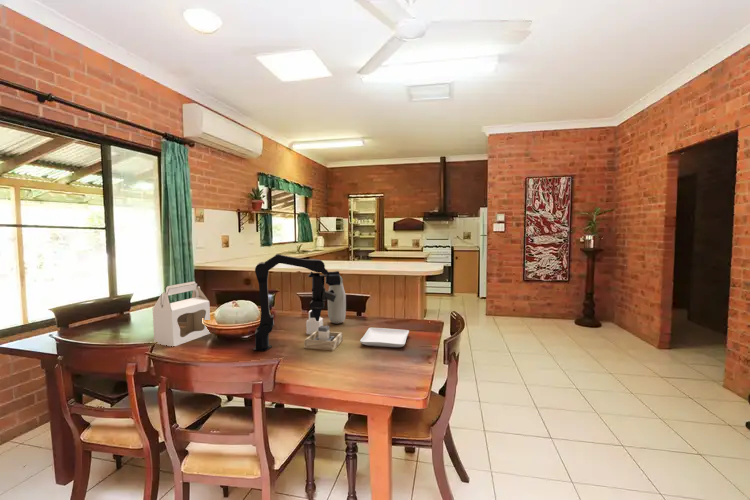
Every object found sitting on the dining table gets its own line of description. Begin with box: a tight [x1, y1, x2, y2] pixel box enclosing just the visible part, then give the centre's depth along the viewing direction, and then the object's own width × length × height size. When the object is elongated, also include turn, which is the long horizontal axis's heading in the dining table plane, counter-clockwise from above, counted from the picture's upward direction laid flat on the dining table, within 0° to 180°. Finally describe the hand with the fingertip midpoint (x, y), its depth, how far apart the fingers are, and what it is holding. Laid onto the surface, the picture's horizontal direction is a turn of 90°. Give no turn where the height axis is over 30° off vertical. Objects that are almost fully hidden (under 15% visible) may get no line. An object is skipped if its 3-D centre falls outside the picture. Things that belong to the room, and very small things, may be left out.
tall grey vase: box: [326, 275, 347, 325], centre depth 200 cm, size 10×10×28 cm
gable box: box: [152, 280, 211, 347], centre depth 175 cm, size 22×13×28 cm, turn 158°
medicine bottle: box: [305, 309, 324, 335], centre depth 184 cm, size 7×7×12 cm
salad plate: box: [359, 327, 410, 348], centre depth 170 cm, size 21×21×3 cm
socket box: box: [303, 331, 343, 351], centre depth 166 cm, size 14×14×4 cm
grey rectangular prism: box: [318, 325, 330, 340], centre depth 166 cm, size 4×4×8 cm
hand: (318, 318), depth 166 cm, fingers open, 9 cm apart
